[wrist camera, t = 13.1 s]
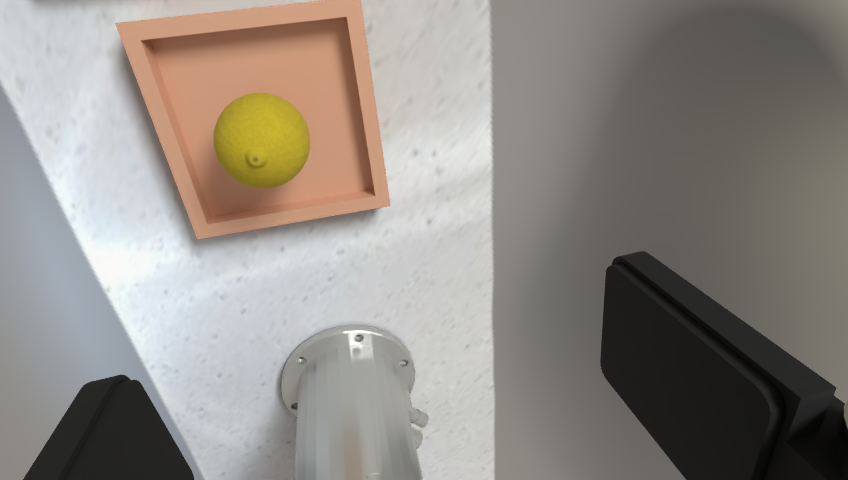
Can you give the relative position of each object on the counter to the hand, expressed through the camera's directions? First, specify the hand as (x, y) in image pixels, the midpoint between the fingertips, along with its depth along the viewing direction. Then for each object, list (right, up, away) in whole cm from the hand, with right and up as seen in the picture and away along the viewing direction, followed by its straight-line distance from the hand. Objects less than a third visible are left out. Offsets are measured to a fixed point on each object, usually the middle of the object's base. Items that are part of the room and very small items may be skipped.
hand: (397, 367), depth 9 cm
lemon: (-10, +11, +22) cm, 27 cm away
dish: (-10, +11, +23) cm, 27 cm away
